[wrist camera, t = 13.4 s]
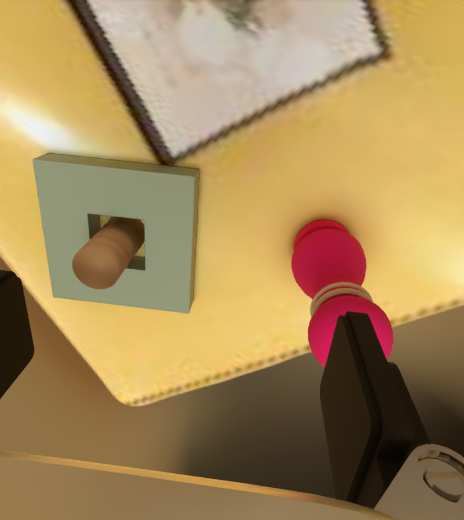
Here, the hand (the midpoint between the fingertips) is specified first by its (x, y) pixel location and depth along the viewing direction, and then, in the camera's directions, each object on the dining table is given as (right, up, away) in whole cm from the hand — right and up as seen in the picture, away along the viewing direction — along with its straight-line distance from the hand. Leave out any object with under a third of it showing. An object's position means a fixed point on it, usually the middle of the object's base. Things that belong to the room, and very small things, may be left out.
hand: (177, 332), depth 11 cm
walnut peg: (-10, +5, +32) cm, 34 cm away
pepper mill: (+12, +4, +31) cm, 34 cm away
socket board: (-10, +5, +32) cm, 34 cm away
